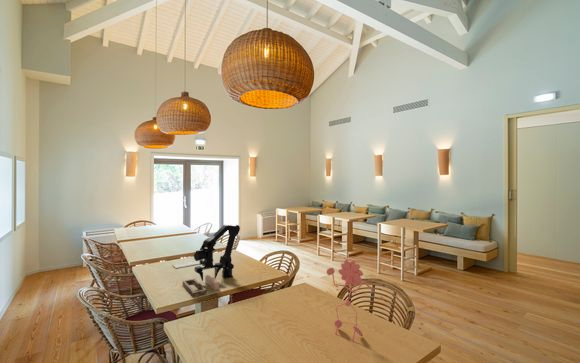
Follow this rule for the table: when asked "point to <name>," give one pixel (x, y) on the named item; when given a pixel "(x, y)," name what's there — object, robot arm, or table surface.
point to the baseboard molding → (187, 264)
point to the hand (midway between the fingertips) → (208, 279)
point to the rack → (192, 292)
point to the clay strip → (212, 282)
